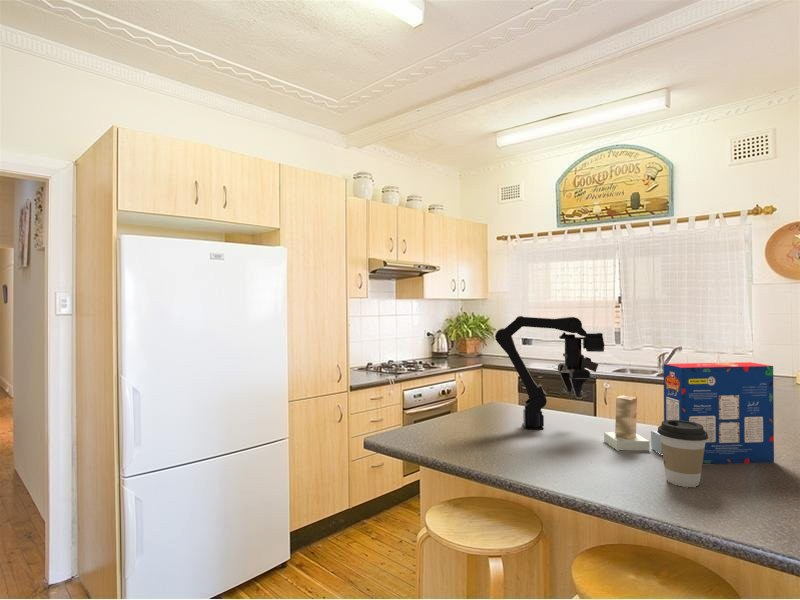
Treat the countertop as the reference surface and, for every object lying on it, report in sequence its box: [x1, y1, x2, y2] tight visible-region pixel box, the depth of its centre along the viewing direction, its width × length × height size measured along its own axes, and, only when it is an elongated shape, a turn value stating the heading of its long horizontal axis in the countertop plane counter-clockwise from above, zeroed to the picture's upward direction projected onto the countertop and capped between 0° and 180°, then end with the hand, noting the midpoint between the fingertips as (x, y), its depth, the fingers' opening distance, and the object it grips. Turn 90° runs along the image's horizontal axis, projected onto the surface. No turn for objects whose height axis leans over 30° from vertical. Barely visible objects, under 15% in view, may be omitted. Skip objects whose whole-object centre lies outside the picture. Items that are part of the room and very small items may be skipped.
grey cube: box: [650, 430, 663, 455], centre depth 144 cm, size 6×6×6 cm
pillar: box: [614, 395, 638, 439], centre depth 151 cm, size 4×6×12 cm
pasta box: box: [663, 361, 775, 465], centre depth 138 cm, size 28×8×28 cm, turn 95°
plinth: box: [603, 431, 651, 451], centre depth 151 cm, size 10×10×4 cm
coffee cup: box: [656, 420, 708, 488], centre depth 120 cm, size 11×11×15 cm
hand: (573, 394), depth 170 cm, fingers open, 9 cm apart
